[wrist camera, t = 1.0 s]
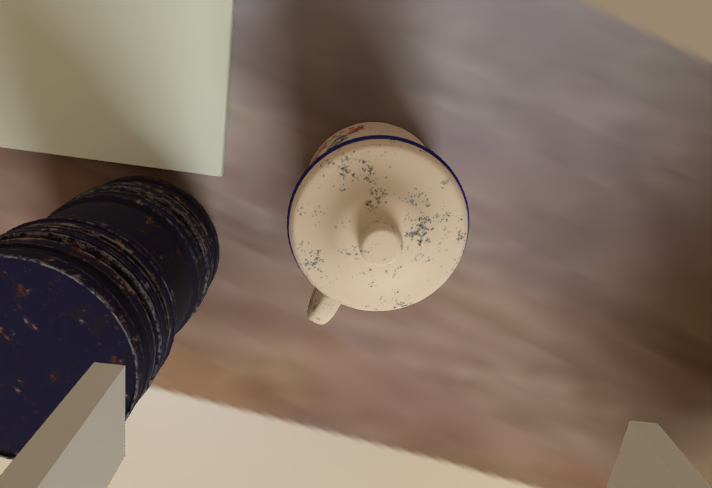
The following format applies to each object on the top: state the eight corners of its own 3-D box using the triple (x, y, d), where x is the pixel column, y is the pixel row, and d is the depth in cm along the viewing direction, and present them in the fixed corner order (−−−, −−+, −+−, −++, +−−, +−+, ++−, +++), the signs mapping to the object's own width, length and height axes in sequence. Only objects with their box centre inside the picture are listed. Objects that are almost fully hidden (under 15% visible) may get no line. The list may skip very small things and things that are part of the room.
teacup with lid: (342, 89, 34) (338, 105, 23) (469, 160, 35) (523, 207, 24) (258, 253, 37) (219, 337, 26) (377, 312, 38) (388, 414, 27)
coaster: (239, -72, 31) (237, -74, 30) (223, 174, 35) (221, 176, 35) (-19, -112, 30) (-26, -115, 30) (-2, 144, 35) (-8, 146, 34)
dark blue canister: (133, 141, 35) (-19, 199, 20) (252, 245, 37) (190, 363, 23) (41, 249, 37) (-153, 368, 23) (158, 341, 39) (49, 502, 25)
